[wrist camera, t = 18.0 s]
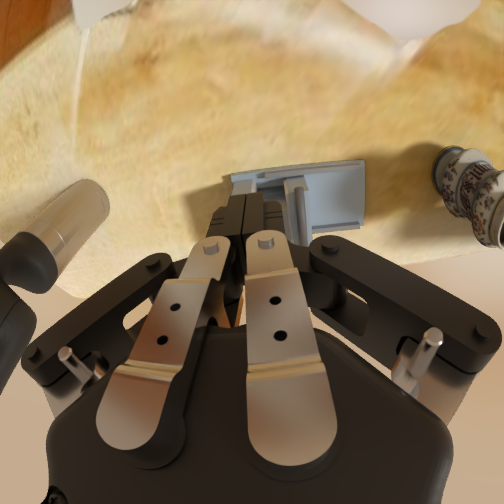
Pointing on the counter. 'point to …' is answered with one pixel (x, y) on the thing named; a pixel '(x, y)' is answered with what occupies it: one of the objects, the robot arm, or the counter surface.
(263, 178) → the vise base
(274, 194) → the block
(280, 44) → the counter surface
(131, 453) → the robot arm
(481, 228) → the apothecary jar
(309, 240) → the free jaw
